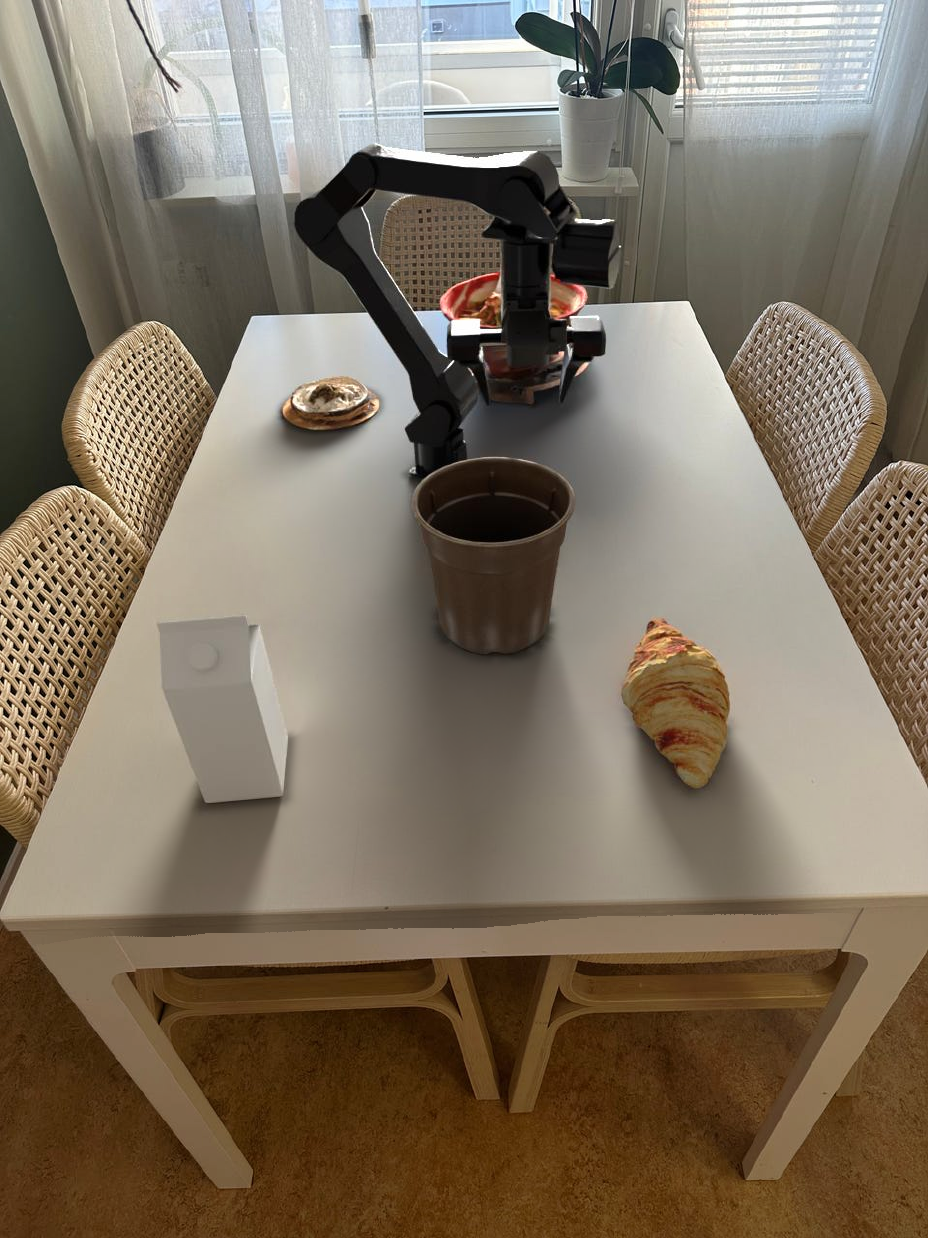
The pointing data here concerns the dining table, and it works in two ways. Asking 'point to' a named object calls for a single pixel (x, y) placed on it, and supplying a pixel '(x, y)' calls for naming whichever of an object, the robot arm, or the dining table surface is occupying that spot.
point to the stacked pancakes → (330, 404)
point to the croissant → (679, 700)
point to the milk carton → (225, 706)
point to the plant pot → (493, 548)
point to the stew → (485, 305)
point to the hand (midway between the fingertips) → (524, 403)
